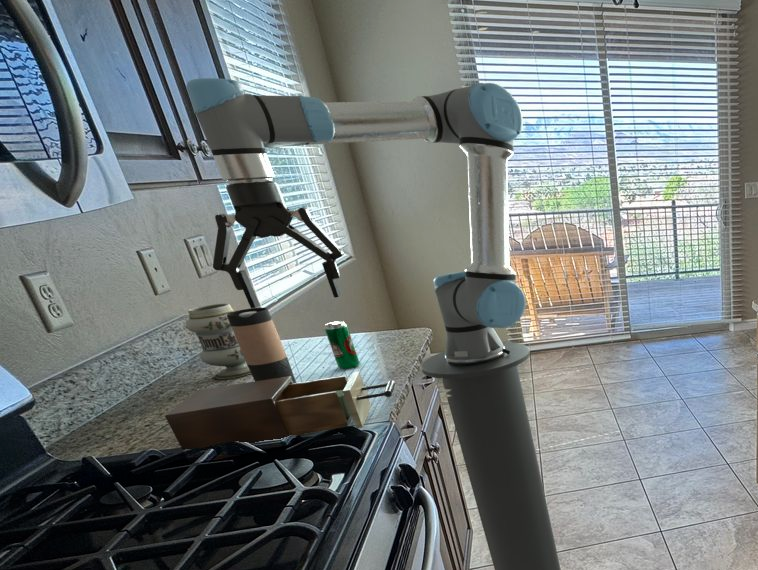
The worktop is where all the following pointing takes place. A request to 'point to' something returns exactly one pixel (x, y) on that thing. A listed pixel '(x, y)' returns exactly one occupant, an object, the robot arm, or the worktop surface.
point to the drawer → (326, 403)
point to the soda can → (341, 345)
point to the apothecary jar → (217, 340)
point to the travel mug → (260, 344)
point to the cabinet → (230, 415)
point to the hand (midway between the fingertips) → (297, 301)
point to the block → (343, 402)
